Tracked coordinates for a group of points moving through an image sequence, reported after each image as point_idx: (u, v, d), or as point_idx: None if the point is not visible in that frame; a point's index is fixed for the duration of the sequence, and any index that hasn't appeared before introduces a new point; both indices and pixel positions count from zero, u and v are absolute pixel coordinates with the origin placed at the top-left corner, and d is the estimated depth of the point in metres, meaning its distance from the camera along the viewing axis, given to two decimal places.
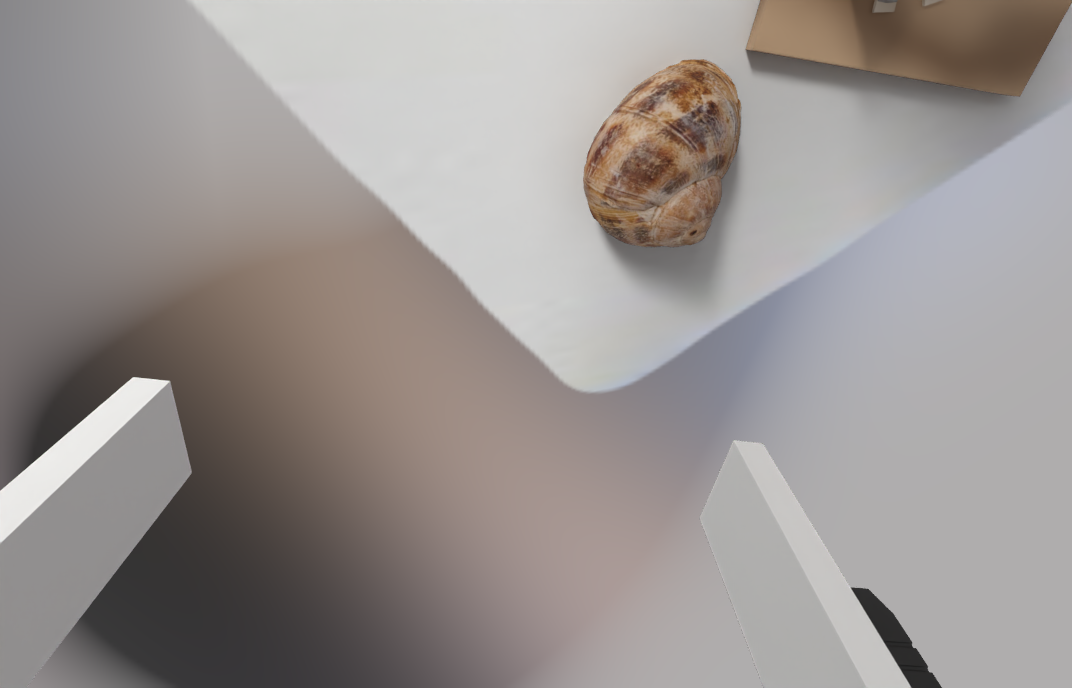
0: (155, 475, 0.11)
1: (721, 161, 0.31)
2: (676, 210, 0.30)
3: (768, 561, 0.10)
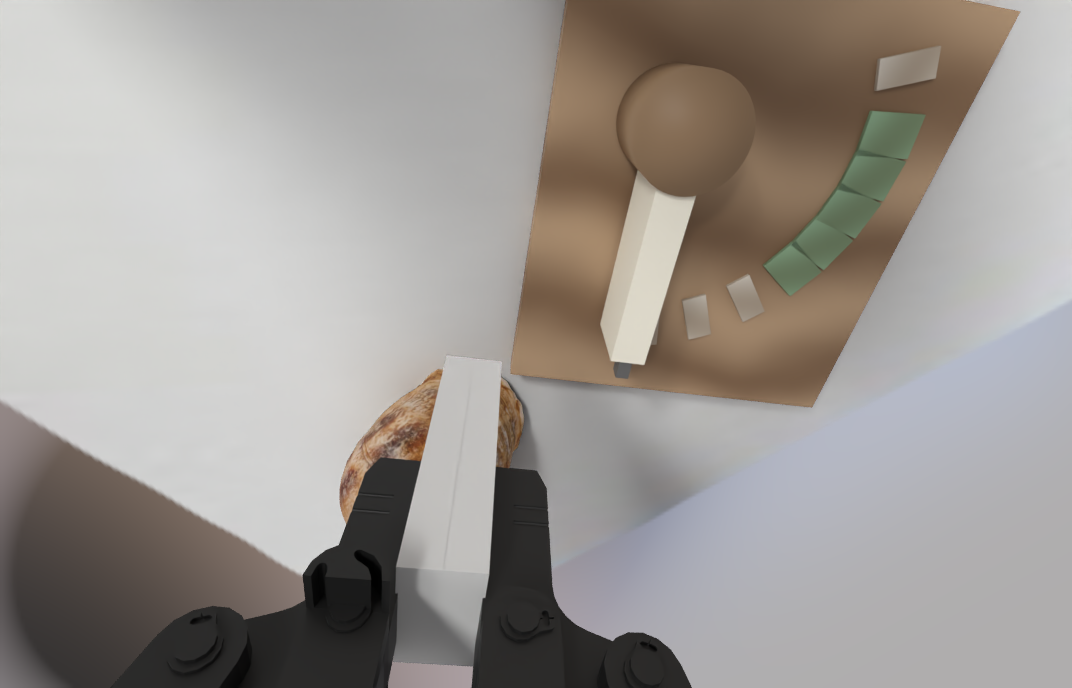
0: None
1: None
2: None
3: None
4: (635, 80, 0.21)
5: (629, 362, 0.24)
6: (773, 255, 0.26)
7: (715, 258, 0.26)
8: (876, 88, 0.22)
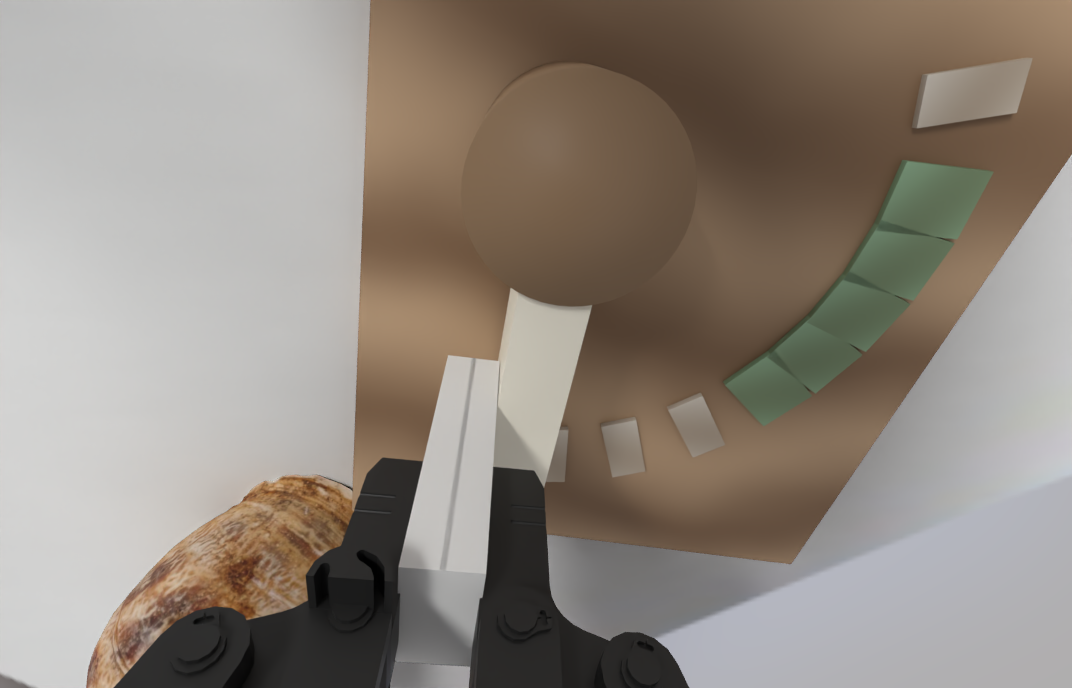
0: None
1: None
2: None
3: None
4: (503, 89, 0.12)
5: None
6: (739, 369, 0.17)
7: (650, 369, 0.17)
8: (916, 124, 0.13)
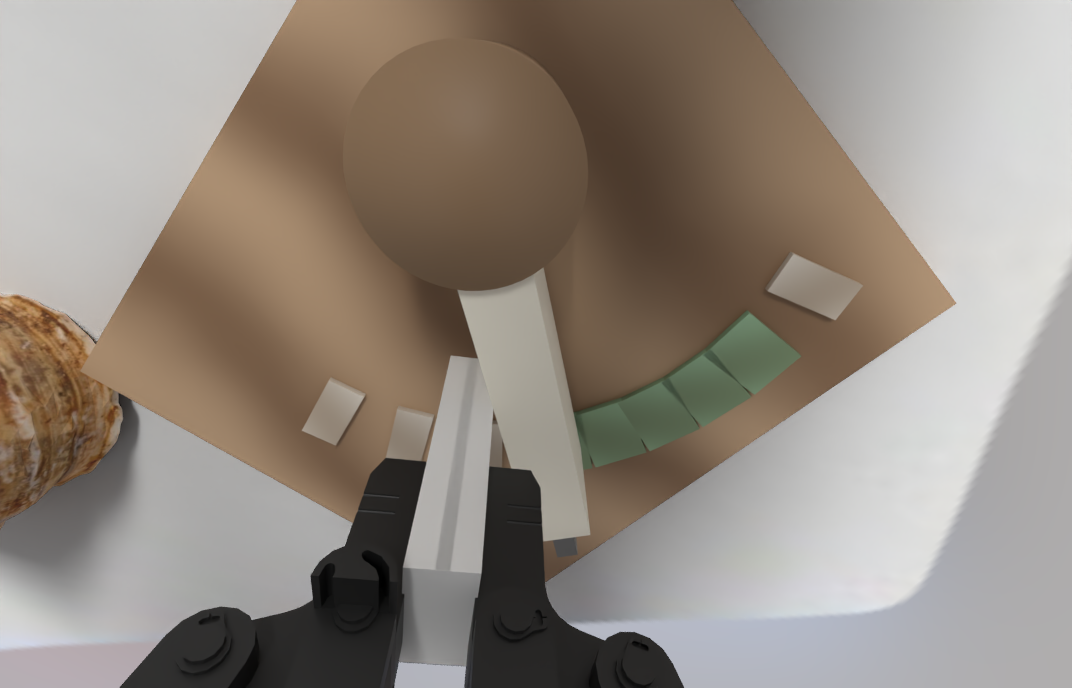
0: None
1: None
2: None
3: None
4: None
5: (565, 536, 0.14)
6: None
7: None
8: (768, 287, 0.15)
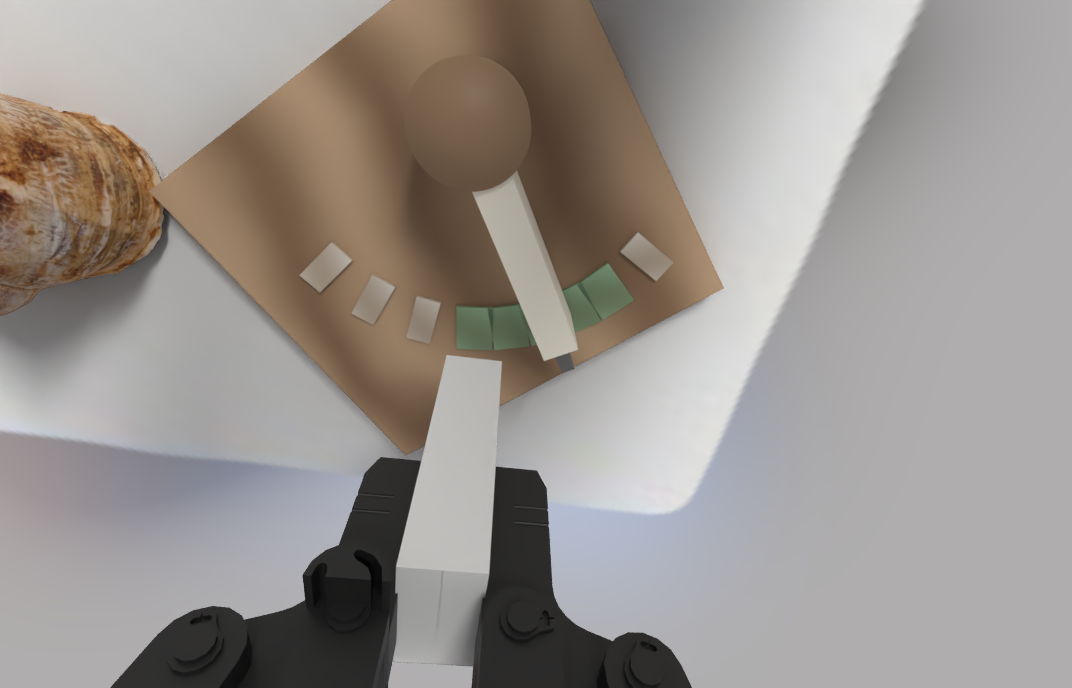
0: None
1: None
2: None
3: None
4: None
5: (563, 353, 0.23)
6: (469, 305, 0.26)
7: (426, 265, 0.25)
8: (621, 250, 0.25)
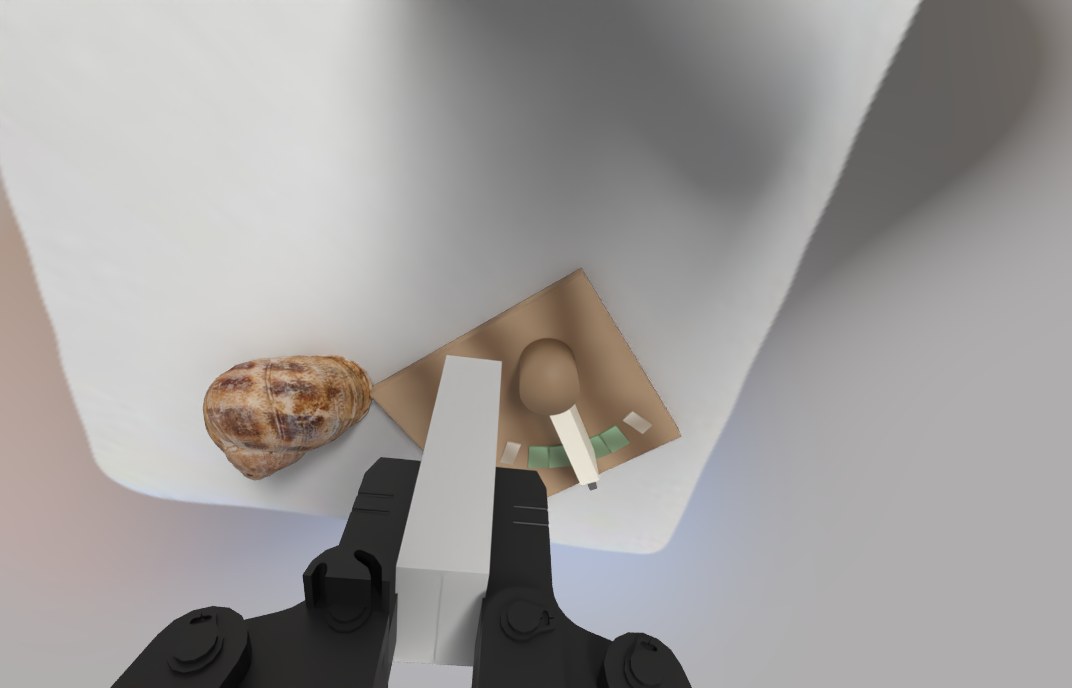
0: None
1: (304, 448, 0.40)
2: (244, 458, 0.38)
3: None
4: (520, 357, 0.41)
5: (591, 482, 0.43)
6: (536, 445, 0.46)
7: (514, 426, 0.45)
8: (623, 419, 0.44)
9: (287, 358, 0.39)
